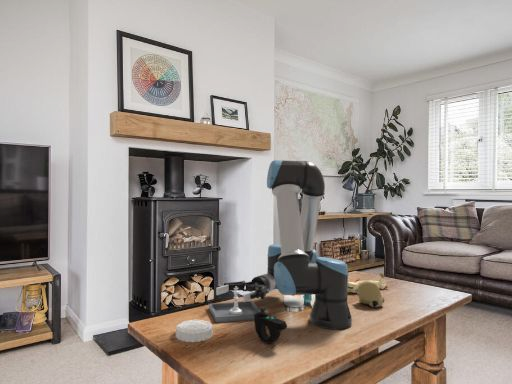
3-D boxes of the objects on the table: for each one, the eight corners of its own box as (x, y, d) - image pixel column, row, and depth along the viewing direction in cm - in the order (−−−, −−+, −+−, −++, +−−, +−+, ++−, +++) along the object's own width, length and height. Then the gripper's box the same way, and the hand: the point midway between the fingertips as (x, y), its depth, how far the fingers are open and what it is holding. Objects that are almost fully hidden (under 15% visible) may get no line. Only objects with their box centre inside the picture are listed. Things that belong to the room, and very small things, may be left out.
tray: (263, 318, 137) (263, 313, 137) (216, 322, 132) (216, 317, 132) (251, 305, 152) (251, 300, 152) (208, 308, 147) (208, 303, 147)
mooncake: (205, 345, 113) (205, 333, 113) (169, 340, 116) (169, 329, 116) (217, 330, 125) (217, 320, 125) (184, 327, 127) (184, 316, 127)
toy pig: (363, 315, 154) (379, 303, 148) (348, 289, 160) (363, 277, 154) (377, 310, 160) (393, 298, 154) (362, 286, 166) (377, 273, 160)
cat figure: (375, 288, 190) (338, 289, 178) (376, 271, 191) (340, 271, 179) (391, 293, 182) (353, 294, 170) (392, 275, 182) (354, 275, 170)
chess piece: (243, 313, 140) (244, 287, 140) (231, 314, 139) (231, 288, 139) (239, 309, 145) (240, 284, 145) (227, 310, 143) (228, 285, 143)
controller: (260, 335, 121) (261, 305, 121) (288, 347, 112) (289, 314, 112) (251, 338, 118) (251, 307, 118) (279, 351, 109) (279, 317, 109)
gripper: (287, 298, 149) (256, 311, 132) (240, 287, 164) (206, 298, 147) (287, 280, 149) (256, 290, 132) (240, 271, 164) (206, 279, 147)
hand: (230, 294), depth 139 cm, fingers open, 13 cm apart
